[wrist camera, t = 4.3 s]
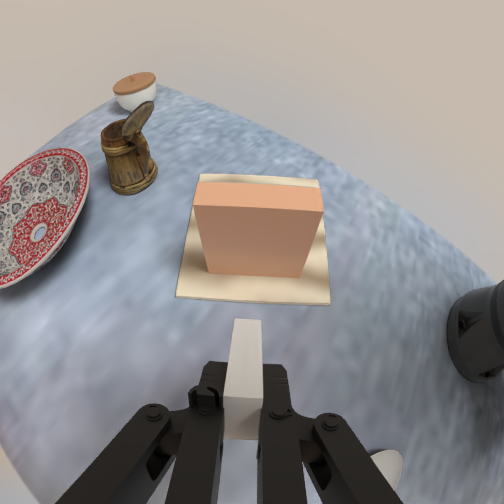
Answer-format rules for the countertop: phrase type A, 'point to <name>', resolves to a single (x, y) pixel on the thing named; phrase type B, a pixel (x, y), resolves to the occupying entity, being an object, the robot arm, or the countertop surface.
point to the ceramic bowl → (39, 210)
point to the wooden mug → (129, 152)
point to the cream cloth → (254, 287)
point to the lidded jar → (135, 90)
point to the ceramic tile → (257, 227)
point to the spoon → (389, 465)
